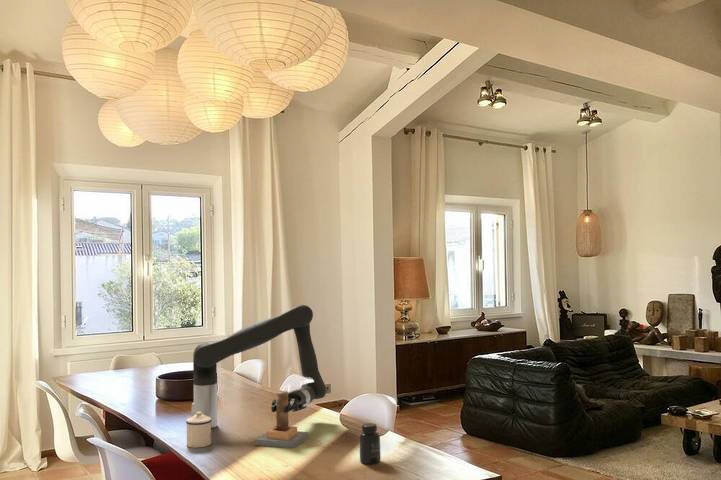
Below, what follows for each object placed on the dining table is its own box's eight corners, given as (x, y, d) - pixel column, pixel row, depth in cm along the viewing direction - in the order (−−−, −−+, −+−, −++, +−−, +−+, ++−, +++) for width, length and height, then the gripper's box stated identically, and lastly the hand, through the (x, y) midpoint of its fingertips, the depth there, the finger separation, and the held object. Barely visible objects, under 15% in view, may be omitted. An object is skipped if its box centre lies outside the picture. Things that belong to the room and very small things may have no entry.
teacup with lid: (216, 444, 224) (216, 411, 225) (194, 449, 218) (194, 416, 218) (198, 438, 233) (198, 406, 233) (177, 443, 226) (177, 411, 227)
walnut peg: (274, 432, 226) (274, 393, 226) (279, 429, 230) (279, 391, 231) (285, 433, 224) (285, 394, 225) (290, 429, 229) (290, 391, 229)
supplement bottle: (379, 458, 206) (379, 421, 206) (381, 464, 199) (380, 427, 199) (359, 458, 205) (358, 422, 206) (360, 465, 199) (359, 427, 199)
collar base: (255, 445, 223) (254, 432, 223) (272, 434, 236) (271, 422, 236) (293, 448, 218) (293, 435, 218) (308, 437, 231) (308, 425, 232)
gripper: (280, 389, 243) (261, 398, 227) (314, 390, 239) (296, 400, 223) (281, 408, 243) (261, 419, 227) (314, 410, 239) (297, 421, 223)
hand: (279, 409), depth 225 cm, fingers closed on walnut peg, 4 cm apart
